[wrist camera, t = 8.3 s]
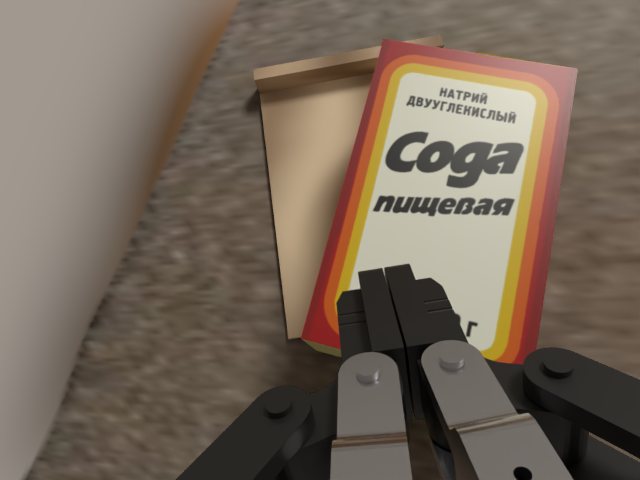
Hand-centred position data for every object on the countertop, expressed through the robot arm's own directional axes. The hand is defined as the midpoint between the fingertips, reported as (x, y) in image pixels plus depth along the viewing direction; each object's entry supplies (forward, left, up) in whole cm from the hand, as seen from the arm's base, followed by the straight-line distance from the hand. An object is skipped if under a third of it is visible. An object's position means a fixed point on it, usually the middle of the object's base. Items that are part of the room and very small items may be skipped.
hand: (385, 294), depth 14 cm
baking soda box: (-1, +2, -10) cm, 11 cm away
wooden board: (-1, -9, -14) cm, 17 cm away
